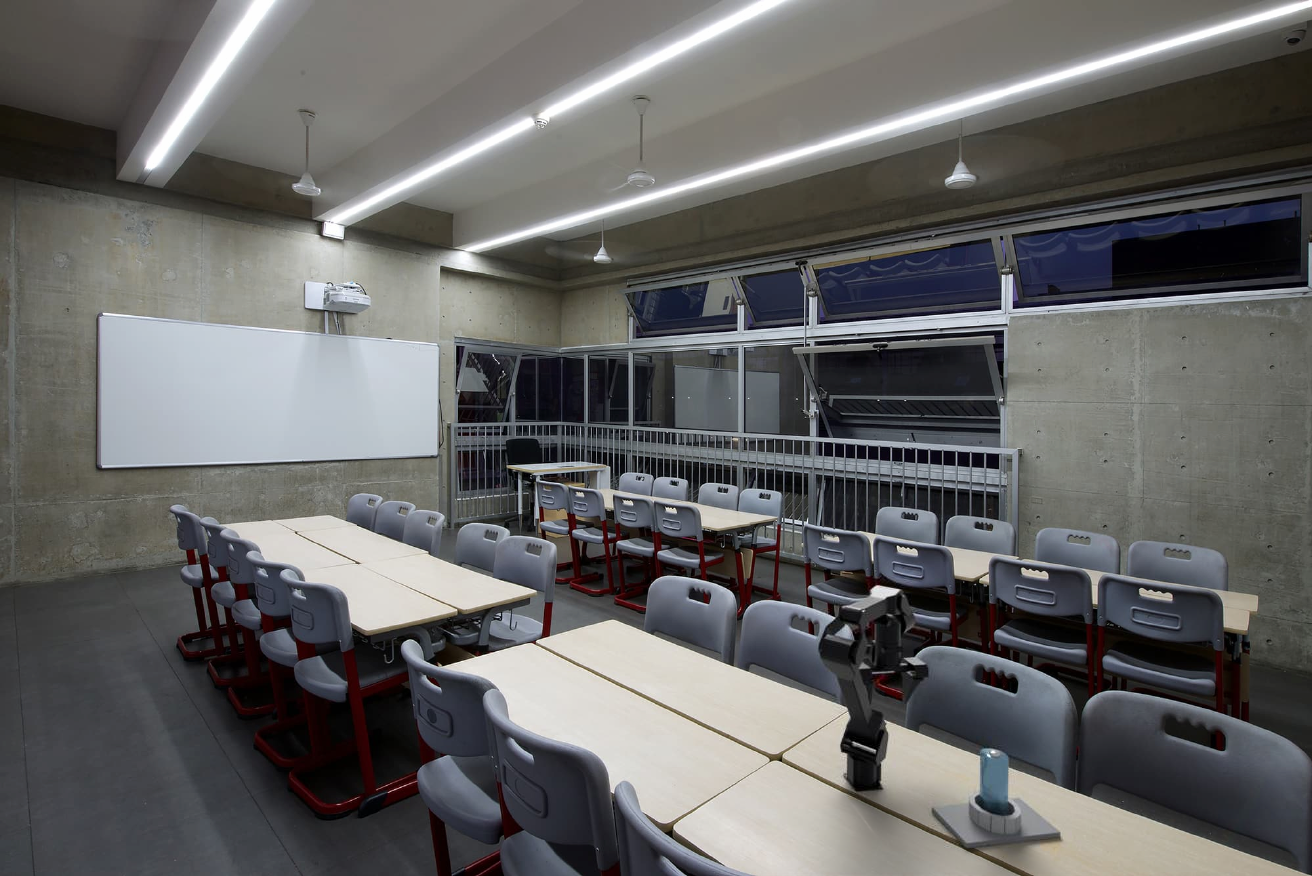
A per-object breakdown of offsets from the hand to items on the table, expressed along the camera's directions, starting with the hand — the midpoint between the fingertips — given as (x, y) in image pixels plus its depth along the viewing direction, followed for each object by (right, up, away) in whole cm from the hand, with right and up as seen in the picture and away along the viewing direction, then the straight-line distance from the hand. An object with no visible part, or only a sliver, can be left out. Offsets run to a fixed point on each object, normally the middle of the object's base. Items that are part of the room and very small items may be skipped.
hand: (886, 704), depth 147 cm
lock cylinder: (+13, -13, -23) cm, 29 cm away
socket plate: (+13, -14, -23) cm, 30 cm away
